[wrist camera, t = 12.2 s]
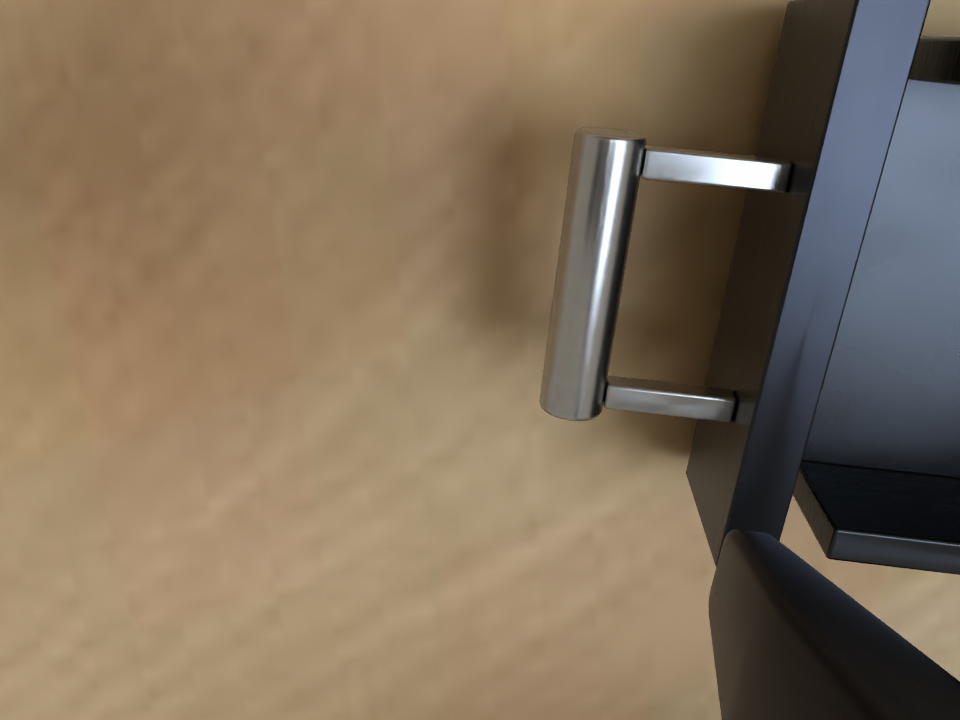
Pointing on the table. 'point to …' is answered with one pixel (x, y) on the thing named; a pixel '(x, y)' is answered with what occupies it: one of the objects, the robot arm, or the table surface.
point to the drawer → (804, 294)
